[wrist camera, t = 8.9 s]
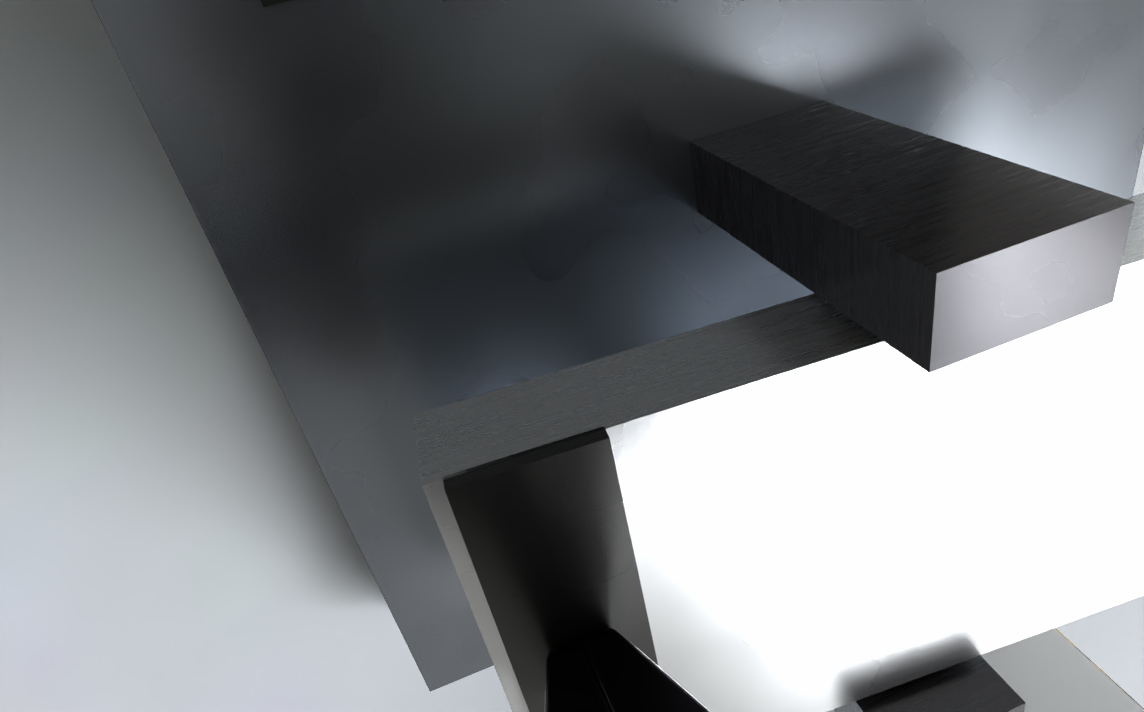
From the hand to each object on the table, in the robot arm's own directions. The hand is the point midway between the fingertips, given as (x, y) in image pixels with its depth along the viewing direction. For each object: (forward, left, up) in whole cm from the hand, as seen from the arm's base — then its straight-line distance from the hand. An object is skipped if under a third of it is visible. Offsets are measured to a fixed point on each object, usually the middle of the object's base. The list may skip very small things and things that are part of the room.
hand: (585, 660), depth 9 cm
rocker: (-5, 0, 0) cm, 5 cm away
